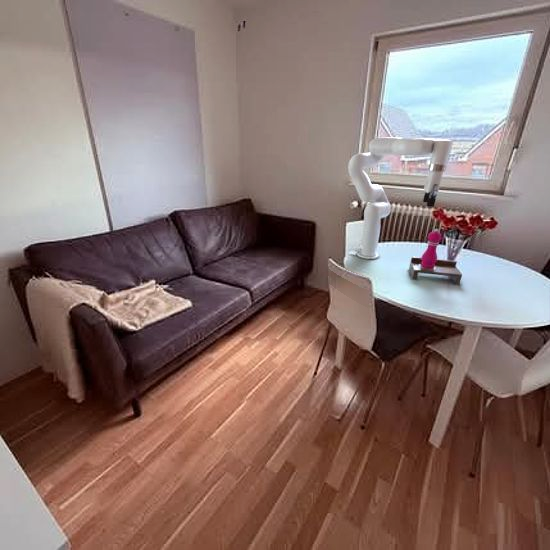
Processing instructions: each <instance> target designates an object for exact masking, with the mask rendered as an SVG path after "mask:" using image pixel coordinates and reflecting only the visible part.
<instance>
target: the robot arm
mask: <svg viewBox="0 0 550 550" xmlns="http://www.w3.org/2000/svg"><path fill="white" fill-rule="evenodd" d="M452 147H453V141H452V140H450V139H436V138H430V137H419V138H417V137H413V138H411V137H410V138H408V137H407V138H403V137H400V136H399V137H397V136H396V137H375V138H373V139H372V140H370V142H369V143H368V151H369V152H358V153H356V154H354V155H353V156H352V157H351V158H350V160H349V161H348V166H347V170H348V174H349V177H350V178H351V180H352V183H353V185H354V188H355V190H356V192H357V194H358V197H359V199H360V201H361V202H363V203H367V204H368V203H369V204H368V205H367V206H366V207H365V208H364V211H363V226H362V227H363V228H362V234H361V240H360V241H361V242H360V246H358V247H352V250H351V251H354V252H356V255H357V256H358V257H359V258H362V259H365V260H375V259H378V258H379V257H380V256H379V253H378V252H377V250H378V245H379V240H380V233H381V225H382V224H381V219H384V218H387V217H388V216H389V215H390V213H391V210H392V208H391V204H390V201H389V199H388V197H387V195H386V192H385V190H384V189H383V187H382V186H381V185H379V184H377V183H376V184H375V183H373V184H372V182H371V180H370V178H369V175H368V174H367V173H366V171H364V170H367V169H373V168H374V167H375V166H377V165H378V164H379V163H380V162H382V160H383V159H385V157H387V156H397V157H398V156H415V157H416V156H417V157H418V156H419V157H420V156H430V160H429V164H428V168H427V171H428V174H427V176H426V180H425V184H424V186H423V191H424V195H423V199H422V202H423V203H426V207H430V208H434V207H435V203H436V199H437V195H438V193H439V191H440V188H441V182H442V179H443V174H444V173H446V170H447V167H448V163H449V159H450V155H451V151H452Z"/></svg>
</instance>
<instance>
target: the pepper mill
mask: <svg viewBox="0 0 550 550" xmlns="http://www.w3.org/2000/svg"><path fill="white" fill-rule="evenodd" d="M427 239H428V240H427V248H426V250H424V253H423V254H422V255H421V257H420V258H421V259H422V261H423V262H421V267H423V268H426V269H433V268H434V266H435V264H434V263H435V262H436V261H437V259H438V254H437V248H438V246H439V243H440V241H441V240H442V234H441V233H440V232H439V229H438V228H435V229H434V230H433V231H431V232H429V233H428V235H427Z"/></svg>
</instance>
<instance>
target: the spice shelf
mask: <svg viewBox="0 0 550 550" xmlns="http://www.w3.org/2000/svg"><path fill="white" fill-rule="evenodd" d="M421 258H422V257H419V256H411V258H410V263H409V267H408V272H409V274H410V277H411V280H413V281H417V279H418V275H419V274H427V275H434V276H443V277H444V276H445V277H450V279H451V281H452V282H453V284H454V285H460V284H461V281H462V278H463V273H462V272H461V271H460V269H459V268H458V267H457V263H458V261H457V260H450V259H449V260H448V259H439V258H437V261H436V262H435V263H434V264H435V266H434V268H433V269H426V268H423V267H421V262H423V261H422V259H421Z"/></svg>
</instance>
